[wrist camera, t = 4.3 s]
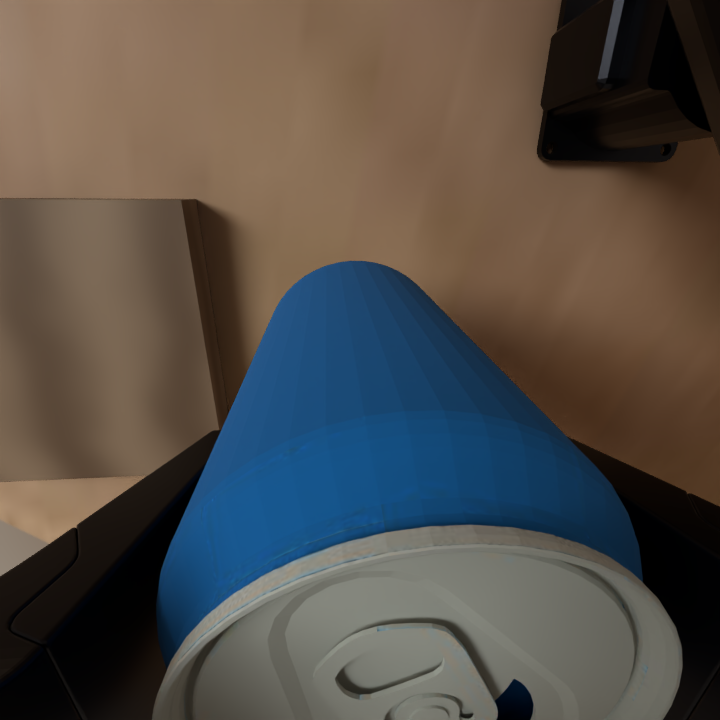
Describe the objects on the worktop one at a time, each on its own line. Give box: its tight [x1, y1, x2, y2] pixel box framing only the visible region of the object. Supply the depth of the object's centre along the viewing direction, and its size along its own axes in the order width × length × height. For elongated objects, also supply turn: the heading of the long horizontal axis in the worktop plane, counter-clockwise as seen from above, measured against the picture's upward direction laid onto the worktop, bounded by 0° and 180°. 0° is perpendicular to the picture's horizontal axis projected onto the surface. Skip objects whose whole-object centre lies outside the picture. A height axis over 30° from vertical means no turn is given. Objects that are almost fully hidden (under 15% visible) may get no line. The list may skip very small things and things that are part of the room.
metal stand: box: [0, 198, 229, 482], centre depth 19 cm, size 14×14×2 cm
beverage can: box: [152, 261, 683, 720], centre depth 10 cm, size 6×6×12 cm
